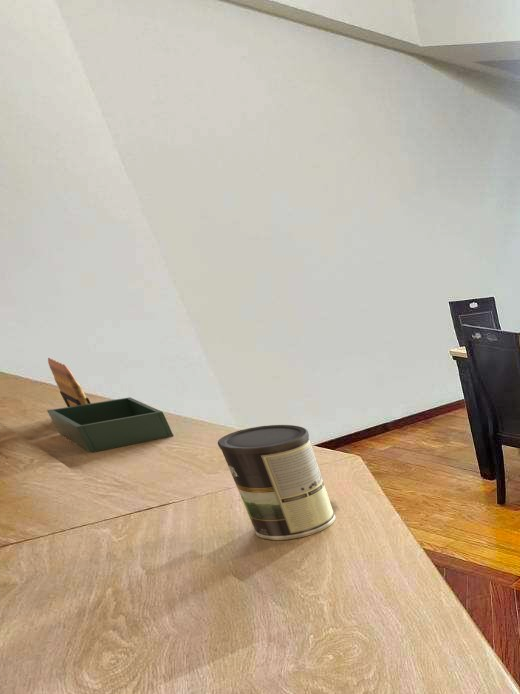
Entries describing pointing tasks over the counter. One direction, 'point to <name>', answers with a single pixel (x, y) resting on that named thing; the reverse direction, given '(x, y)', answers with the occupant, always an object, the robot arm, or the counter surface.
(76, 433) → the tray
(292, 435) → the coffee can
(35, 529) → the counter surface
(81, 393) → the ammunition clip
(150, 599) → the counter surface
